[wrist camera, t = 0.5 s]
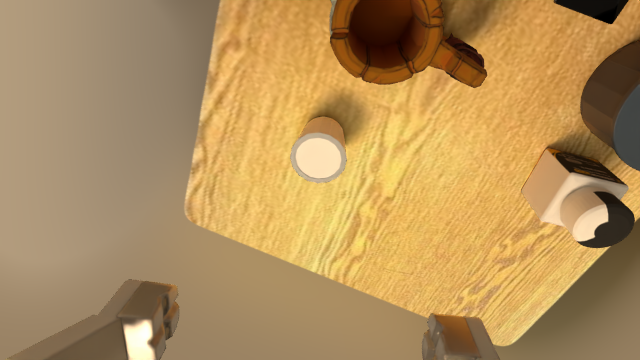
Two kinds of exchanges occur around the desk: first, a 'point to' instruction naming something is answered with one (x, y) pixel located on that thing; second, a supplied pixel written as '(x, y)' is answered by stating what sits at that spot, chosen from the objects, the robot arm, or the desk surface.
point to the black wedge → (596, 8)
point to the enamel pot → (609, 89)
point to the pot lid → (628, 128)
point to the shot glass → (320, 151)
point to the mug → (399, 41)
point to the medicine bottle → (579, 198)
